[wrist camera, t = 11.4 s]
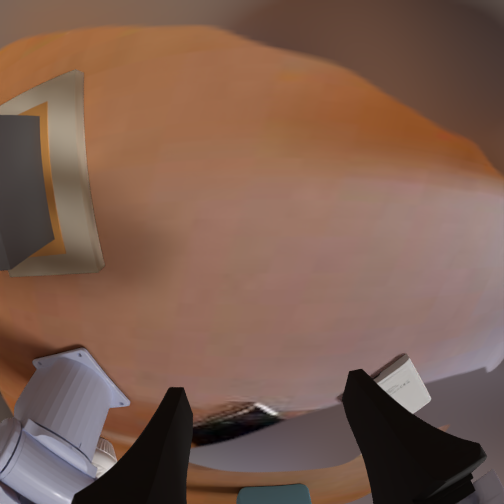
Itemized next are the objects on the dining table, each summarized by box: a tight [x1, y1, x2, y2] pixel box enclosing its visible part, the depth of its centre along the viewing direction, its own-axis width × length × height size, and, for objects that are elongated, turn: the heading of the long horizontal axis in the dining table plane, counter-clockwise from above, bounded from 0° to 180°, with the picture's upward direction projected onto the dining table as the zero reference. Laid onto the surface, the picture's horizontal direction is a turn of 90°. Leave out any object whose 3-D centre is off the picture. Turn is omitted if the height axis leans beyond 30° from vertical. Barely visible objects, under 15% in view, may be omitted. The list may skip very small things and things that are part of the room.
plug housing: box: [0, 115, 55, 270], centre depth 12 cm, size 9×4×5 cm, turn 3°
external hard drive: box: [373, 354, 431, 414], centre depth 26 cm, size 2×8×12 cm
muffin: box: [91, 437, 117, 478], centre depth 24 cm, size 6×6×7 cm
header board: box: [0, 69, 105, 277], centre depth 13 cm, size 14×10×4 cm
